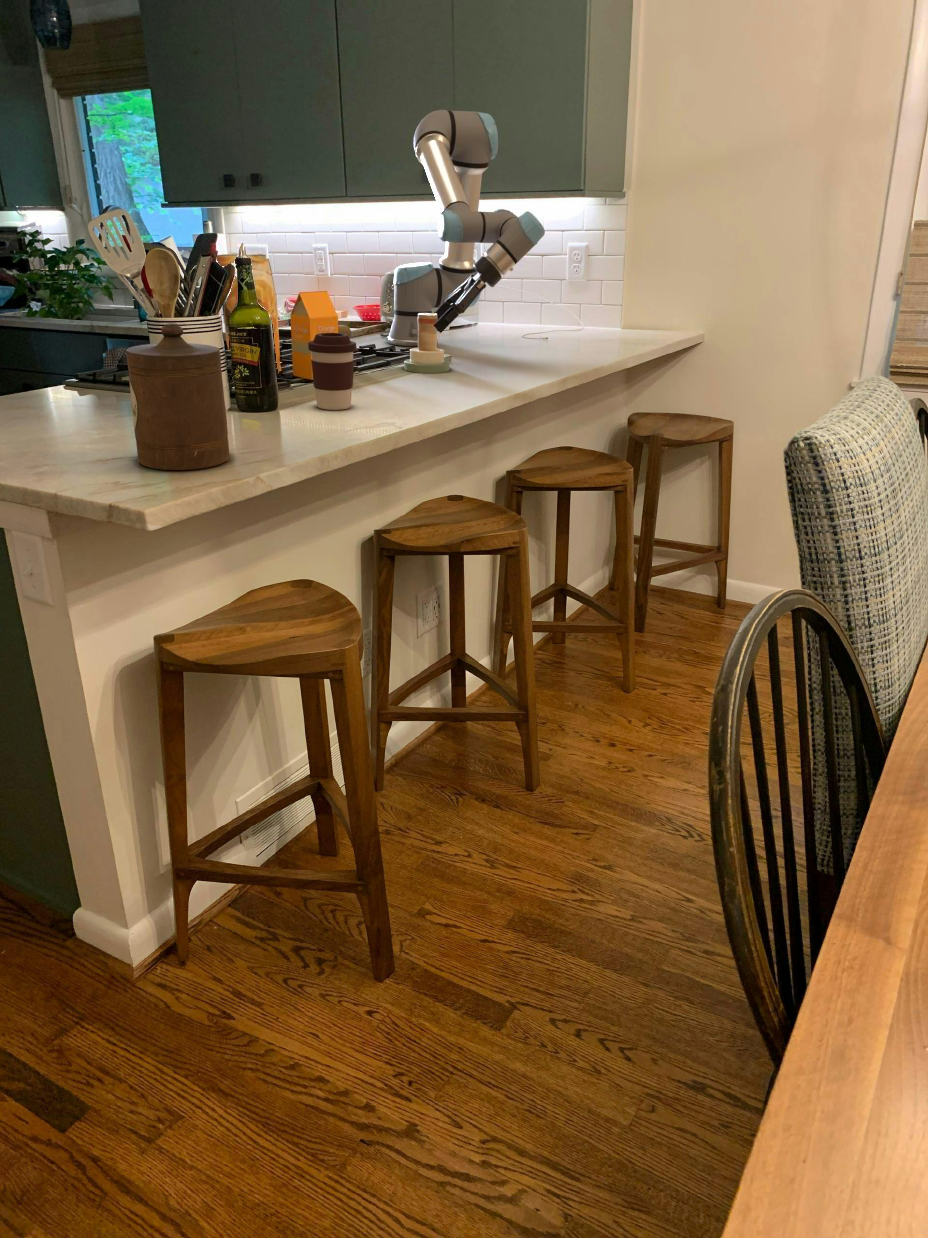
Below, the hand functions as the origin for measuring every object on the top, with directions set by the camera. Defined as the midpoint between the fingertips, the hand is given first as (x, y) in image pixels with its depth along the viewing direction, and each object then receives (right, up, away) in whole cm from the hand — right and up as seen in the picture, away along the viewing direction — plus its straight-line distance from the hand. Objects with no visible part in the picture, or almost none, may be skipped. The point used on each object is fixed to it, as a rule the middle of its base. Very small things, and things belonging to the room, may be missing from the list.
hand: (433, 325), depth 243 cm
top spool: (-2, -6, +2) cm, 6 cm away
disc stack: (-2, -10, +4) cm, 11 cm away
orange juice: (-29, -16, -10) cm, 34 cm away
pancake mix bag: (-45, -16, -11) cm, 49 cm away
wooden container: (-39, -50, -86) cm, 106 cm away
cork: (-24, -12, 0) cm, 27 cm away
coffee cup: (-20, -31, -43) cm, 57 cm away
